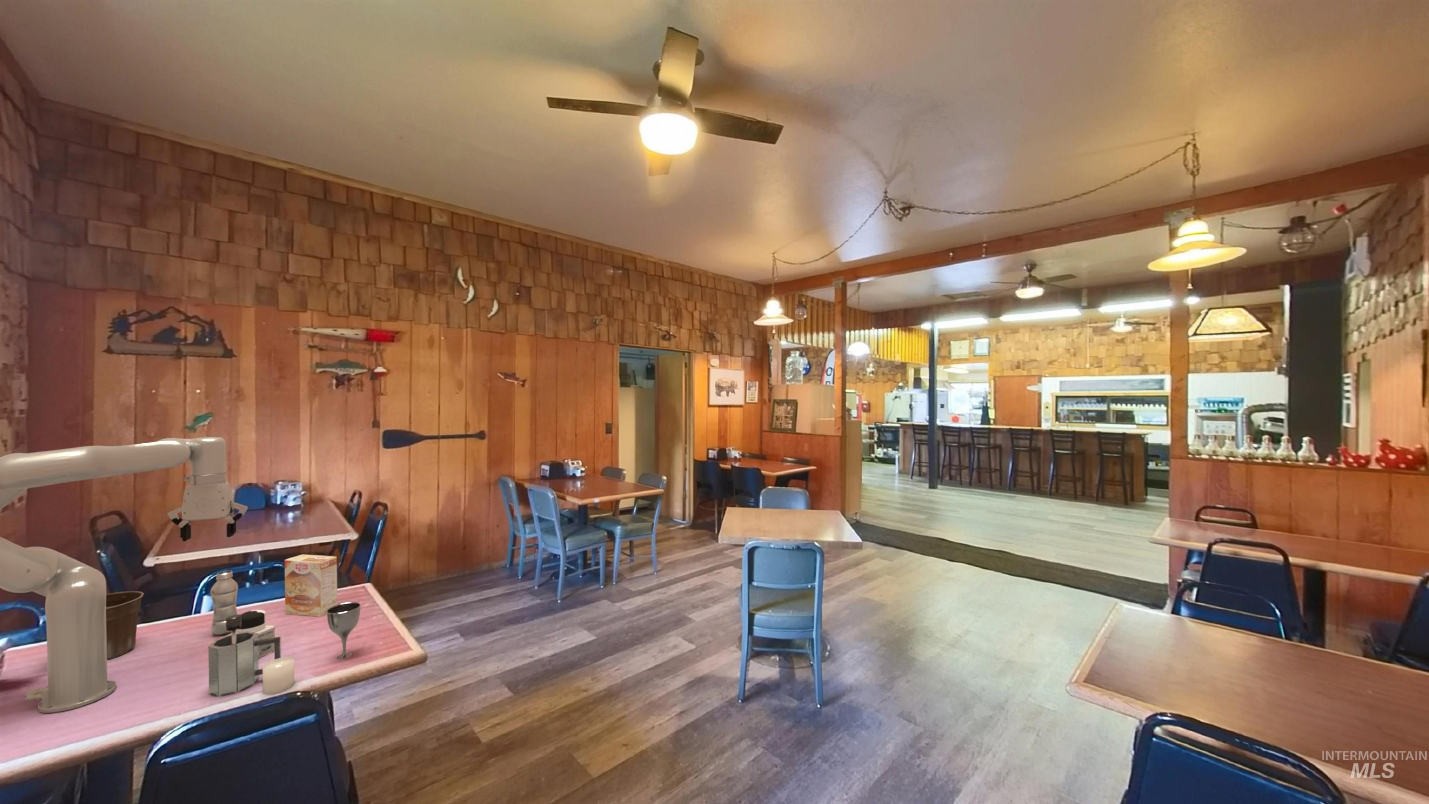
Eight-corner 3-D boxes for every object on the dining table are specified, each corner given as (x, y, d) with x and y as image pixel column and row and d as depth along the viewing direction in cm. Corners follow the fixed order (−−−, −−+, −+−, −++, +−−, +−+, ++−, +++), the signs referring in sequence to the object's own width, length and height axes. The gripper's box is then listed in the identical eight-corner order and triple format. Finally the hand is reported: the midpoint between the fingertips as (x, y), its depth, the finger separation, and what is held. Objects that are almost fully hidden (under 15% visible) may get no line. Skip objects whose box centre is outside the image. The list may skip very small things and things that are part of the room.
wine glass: (363, 657, 152) (363, 607, 151) (330, 667, 146) (330, 615, 146) (357, 648, 157) (356, 599, 157) (325, 658, 151) (324, 607, 151)
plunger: (214, 686, 132) (213, 623, 131) (224, 675, 137) (223, 614, 137) (245, 680, 134) (244, 619, 134) (253, 670, 140) (252, 610, 139)
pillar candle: (257, 698, 131) (257, 671, 131) (269, 684, 137) (270, 658, 137) (287, 693, 133) (287, 667, 133) (298, 680, 139) (298, 655, 139)
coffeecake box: (284, 614, 182) (283, 559, 181) (303, 606, 189) (302, 553, 188) (320, 617, 179) (319, 562, 179) (338, 608, 186) (337, 555, 186)
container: (247, 663, 148) (247, 619, 148) (226, 661, 150) (226, 617, 149) (275, 650, 156) (275, 608, 155) (255, 648, 157) (254, 606, 157)
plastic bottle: (242, 631, 168) (241, 571, 168) (214, 639, 163) (213, 577, 162) (235, 626, 172) (235, 567, 172) (208, 634, 166) (207, 573, 166)
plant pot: (77, 673, 143) (76, 616, 143) (47, 663, 148) (46, 608, 148) (156, 646, 158) (155, 594, 158) (126, 638, 164) (125, 588, 163)
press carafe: (203, 702, 129) (202, 651, 129) (218, 683, 138) (217, 636, 138) (274, 687, 136) (274, 639, 136) (285, 670, 144) (284, 625, 144)
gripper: (160, 483, 142) (161, 545, 142) (241, 479, 149) (242, 537, 149) (174, 479, 149) (175, 538, 149) (251, 475, 156) (252, 531, 156)
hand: (208, 538), depth 149 cm, fingers open, 9 cm apart
